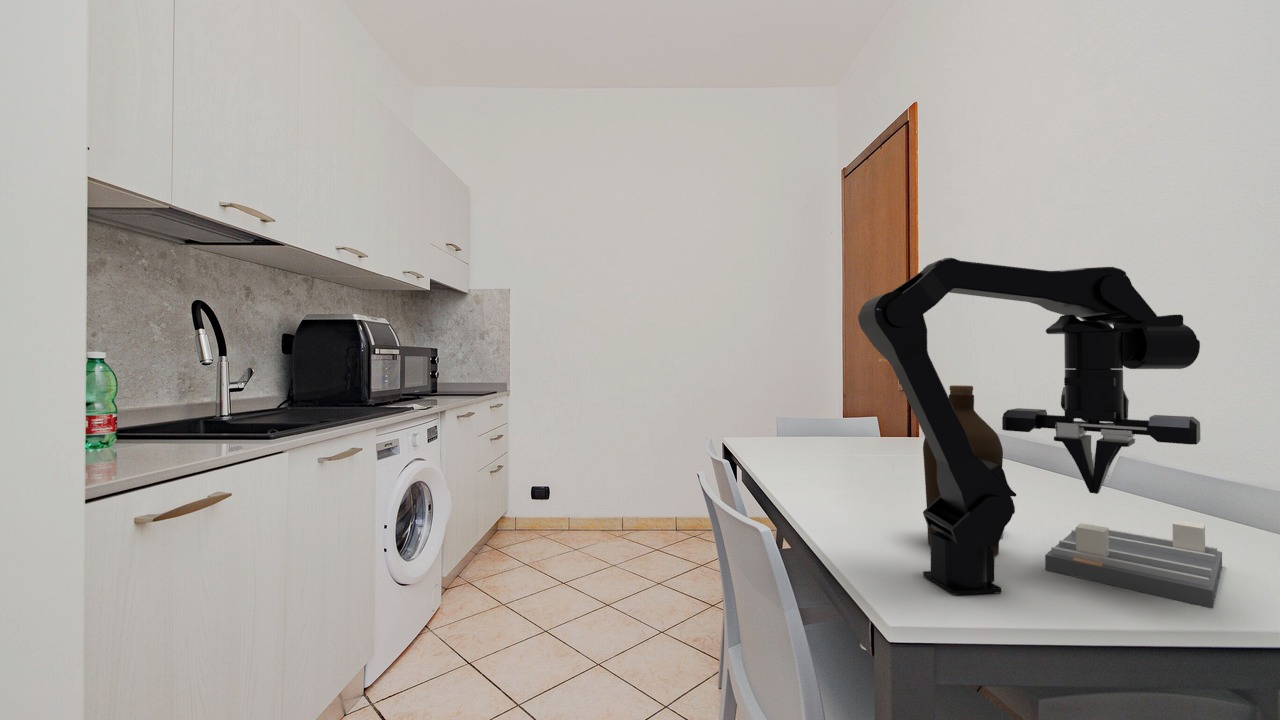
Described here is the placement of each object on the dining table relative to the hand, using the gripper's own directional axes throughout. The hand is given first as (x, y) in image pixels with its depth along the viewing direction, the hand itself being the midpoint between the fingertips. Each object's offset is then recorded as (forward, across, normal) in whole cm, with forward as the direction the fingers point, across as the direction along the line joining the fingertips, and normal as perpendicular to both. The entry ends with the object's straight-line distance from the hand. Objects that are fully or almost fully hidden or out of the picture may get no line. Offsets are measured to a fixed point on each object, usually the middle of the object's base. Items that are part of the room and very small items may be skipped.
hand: (1094, 492), depth 70 cm
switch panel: (+12, -2, -13) cm, 18 cm away
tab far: (+10, -7, -19) cm, 22 cm away
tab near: (+10, +1, -7) cm, 12 cm away
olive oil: (+12, +17, -4) cm, 21 cm away
